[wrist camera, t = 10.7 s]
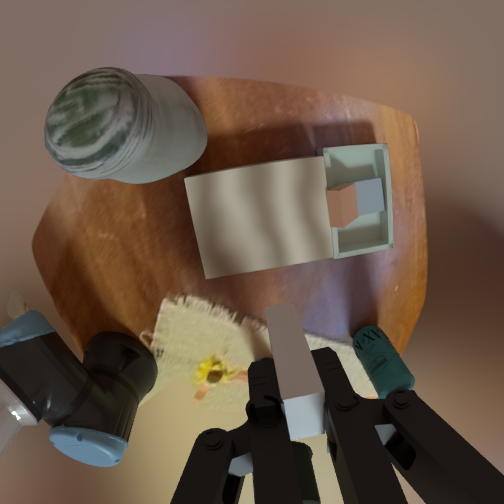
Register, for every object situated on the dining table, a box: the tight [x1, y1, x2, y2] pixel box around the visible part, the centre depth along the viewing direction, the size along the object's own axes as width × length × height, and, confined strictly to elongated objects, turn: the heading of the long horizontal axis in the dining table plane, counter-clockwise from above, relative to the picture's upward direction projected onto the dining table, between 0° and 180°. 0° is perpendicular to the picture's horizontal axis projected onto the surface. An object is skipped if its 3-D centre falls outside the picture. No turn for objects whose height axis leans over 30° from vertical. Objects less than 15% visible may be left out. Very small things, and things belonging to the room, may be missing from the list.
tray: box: [316, 143, 393, 259], centre depth 42 cm, size 10×16×4 cm, turn 9°
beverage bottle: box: [353, 325, 417, 399], centre depth 42 cm, size 6×7×20 cm
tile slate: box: [346, 177, 385, 216], centre depth 41 cm, size 5×5×2 cm
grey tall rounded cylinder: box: [44, 67, 208, 184], centre depth 26 cm, size 10×10×28 cm
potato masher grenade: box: [252, 358, 321, 504], centre depth 38 cm, size 8×9×30 cm
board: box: [184, 155, 334, 279], centre depth 41 cm, size 18×14×5 cm
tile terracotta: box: [326, 183, 359, 228], centre depth 39 cm, size 5×5×2 cm
